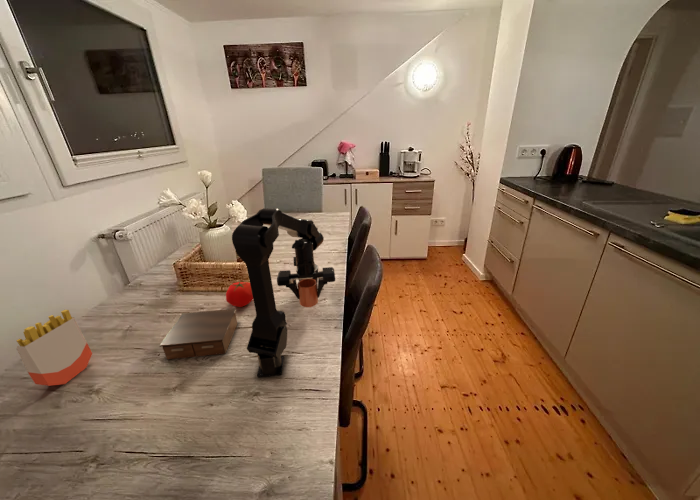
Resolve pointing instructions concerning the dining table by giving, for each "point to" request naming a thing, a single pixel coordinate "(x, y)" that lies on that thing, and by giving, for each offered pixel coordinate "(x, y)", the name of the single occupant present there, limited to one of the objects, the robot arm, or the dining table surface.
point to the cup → (308, 292)
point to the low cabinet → (200, 334)
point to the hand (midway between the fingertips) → (308, 297)
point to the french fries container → (54, 350)
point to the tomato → (239, 294)
